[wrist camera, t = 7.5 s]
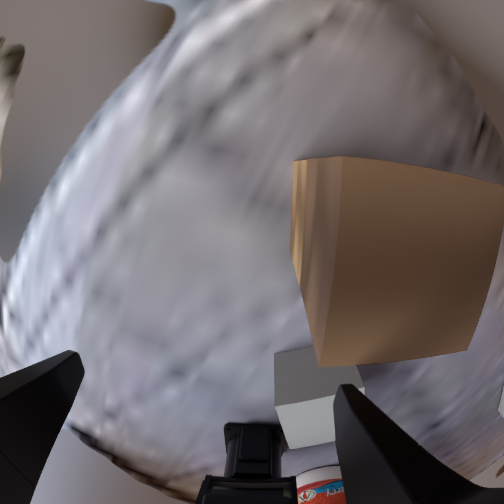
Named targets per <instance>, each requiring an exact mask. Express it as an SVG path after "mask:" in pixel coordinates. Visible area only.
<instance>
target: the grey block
mask: <svg viewBox="0 0 504 504" xmlns="http://www.w3.org/2000/svg"><path fill="white" fill-rule="evenodd" d="M274 382H275V408H276V411H277V414H278V417H279V420H280V423H281V426H282V429H283V432H284V435H285V437H286V440H287V443H288V446H289V449H295V448H301V447H307V446H313V445H318V444H323V443H328V442H332V441H335V426H334V413H333V402H334V398H335V395H336V392H337V389H338V386H339V385H340V384H348V383H351V384H353V385H354V386H355V387H356V388H358V389H359V390H360V391H361V392H362V393H363V394H364V395H365V387H364V384H363V382H362V379H361V376H360V374H359V371H358V368H357V366H356V365H350V366H330V367H319V366H318V362H317V357H316V353H315V348H314V346H309V347H305V348H300V349H295V350H290V351H285V352H280V353H275V354H274Z"/></svg>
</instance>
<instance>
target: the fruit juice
mask: <svg viewBox="0 0 504 504" xmlns="http://www.w3.org/2000/svg"><path fill="white" fill-rule="evenodd" d="M296 482H297V494H298V504H346V499H345V493H344V487H343V482H342V476H341V471H340V466H329V467H322V468H317V469H313V470H310V471H307V472H304V473H302V474H300V475H298V476H297V477H296Z"/></svg>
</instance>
